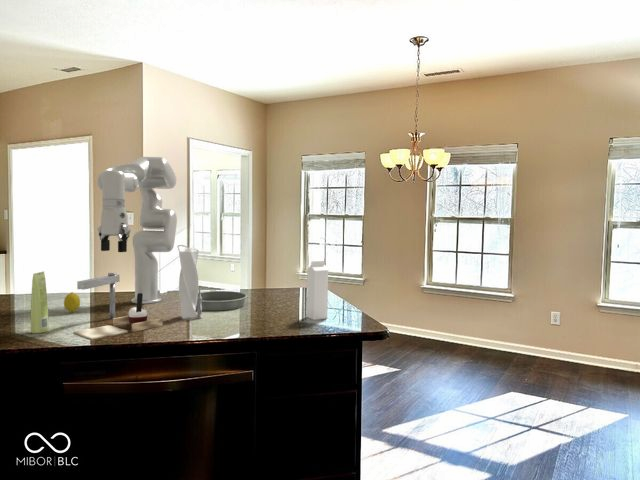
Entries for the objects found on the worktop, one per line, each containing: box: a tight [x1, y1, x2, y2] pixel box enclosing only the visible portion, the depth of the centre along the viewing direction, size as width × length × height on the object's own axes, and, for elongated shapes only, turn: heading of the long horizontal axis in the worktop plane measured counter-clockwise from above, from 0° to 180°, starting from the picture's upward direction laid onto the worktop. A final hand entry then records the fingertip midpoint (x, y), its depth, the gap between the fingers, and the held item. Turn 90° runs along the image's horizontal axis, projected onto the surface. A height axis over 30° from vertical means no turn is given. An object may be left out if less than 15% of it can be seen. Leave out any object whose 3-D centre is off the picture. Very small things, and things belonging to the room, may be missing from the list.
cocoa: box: [127, 293, 148, 326], centre depth 159 cm, size 10×6×12 cm, turn 8°
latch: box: [76, 272, 121, 320], centre depth 163 cm, size 20×3×17 cm, turn 170°
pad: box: [72, 324, 129, 341], centre depth 149 cm, size 12×12×1 cm
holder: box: [112, 315, 163, 332], centre depth 160 cm, size 11×13×2 cm
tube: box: [30, 271, 49, 334], centre depth 149 cm, size 6×5×20 cm
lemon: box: [63, 291, 81, 313], centre depth 179 cm, size 6×6×8 cm
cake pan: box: [196, 290, 248, 311], centre depth 199 cm, size 25×25×4 cm
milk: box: [306, 260, 329, 321], centre depth 177 cm, size 6×6×22 cm
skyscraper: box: [177, 244, 203, 321], centre depth 174 cm, size 8×8×28 cm
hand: (113, 251), depth 168 cm, fingers open, 9 cm apart
